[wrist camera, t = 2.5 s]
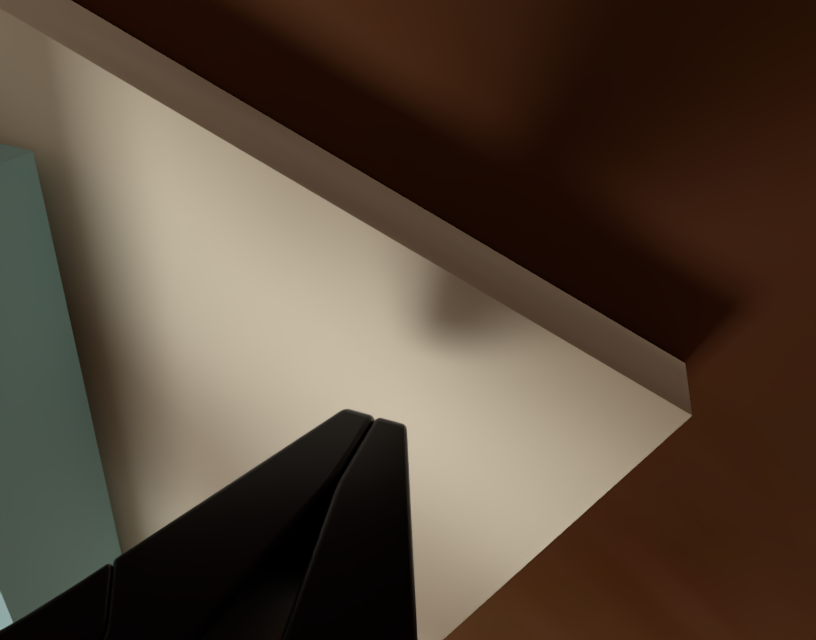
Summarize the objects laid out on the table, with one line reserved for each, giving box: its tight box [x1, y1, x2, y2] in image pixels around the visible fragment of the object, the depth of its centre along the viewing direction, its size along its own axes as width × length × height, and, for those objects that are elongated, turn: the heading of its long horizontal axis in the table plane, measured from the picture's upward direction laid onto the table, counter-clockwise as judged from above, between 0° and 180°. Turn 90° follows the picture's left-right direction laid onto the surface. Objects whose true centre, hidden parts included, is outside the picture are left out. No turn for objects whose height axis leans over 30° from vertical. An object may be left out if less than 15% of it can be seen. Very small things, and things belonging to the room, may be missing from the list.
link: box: [0, 144, 121, 630], centre depth 14 cm, size 21×5×2 cm, turn 174°
